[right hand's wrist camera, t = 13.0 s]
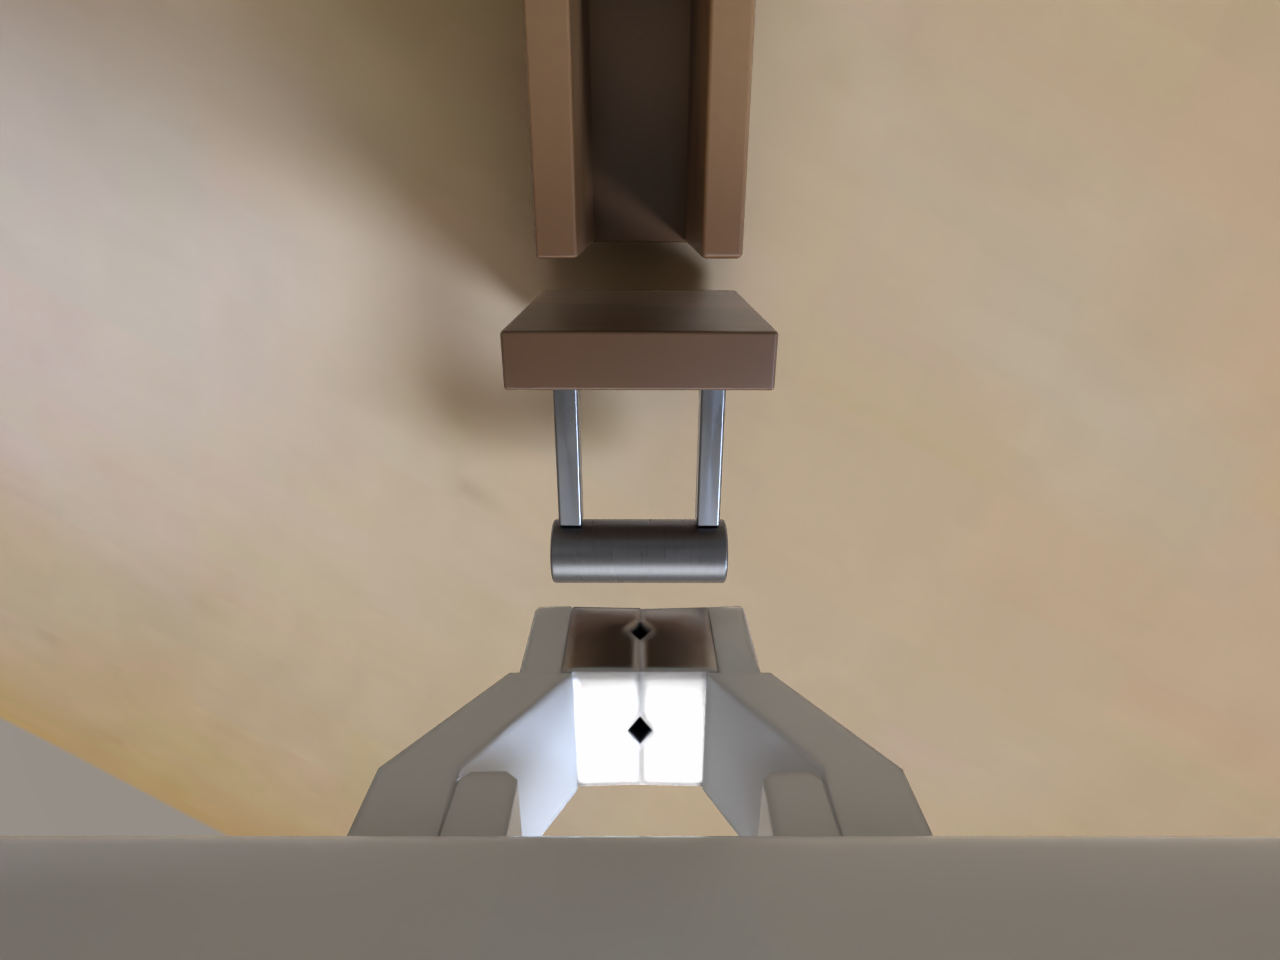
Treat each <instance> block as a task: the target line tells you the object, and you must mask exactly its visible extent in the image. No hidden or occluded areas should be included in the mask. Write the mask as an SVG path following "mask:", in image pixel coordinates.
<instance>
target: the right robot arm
mask: <svg viewBox="0 0 1280 960" xmlns="http://www.w3.org/2000/svg"><path fill="white" fill-rule="evenodd" d="M637 784H640V785H677V786H703V790H704V792H705V793H706V794H707V795H708V797H709V798H710V799H711V801H712V802H713V803H714V804H715V806H716V807H717V808H718V810H719V811H720V812H721V813H722V815H723V816H724V817H725V819H726V820H727V821H728V822H729V824H730V825H731V826H732V828H733V829H734V830H735V831H736V833H737V834H738V835H739V836H542V834H543V833H544V832H545V831H546V829H547V828H548V827H549V826H550V824H551V823H552V822H553V820H554V819H555V818H556V817H557V815H558V814H559V813H560V811H561V810H562V809H563V808H564V806H565V805H566V804H567V802H568V801H569V800H570V799H571V797H572V796H573V795H574V794H575V792H576V791H577V786H602V785H637ZM0 960H1280V836H933V835H932V833H931V831H930V828H929V826H928V824H927V822H926V820H925V818H924V815H923V813H922V811H921V809H920V807H919V804H918V802H917V800H916V798H915V796H914V794H913V791H912V789H911V787H910V785H909V783H908V781H907V778H906V776H905V774H904V772H903V770H902V769H901V768H900V767H898V766H897V765H896V764H894V763H893V762H891V761H890V760H889V759H887V758H886V757H885V756H883V755H882V754H881V753H879V752H878V751H876V750H875V749H874V748H872V747H871V746H870V745H868V744H867V743H865V742H864V741H863V740H861V739H860V738H859V737H857V736H856V735H855V734H853V733H852V732H850V731H849V730H848V729H846V728H845V727H844V726H842V725H841V724H840V723H838V722H837V721H835V720H834V719H833V718H831V717H830V716H829V715H827V714H826V713H825V712H823V711H822V710H820V709H819V708H818V707H816V706H815V705H814V704H812V703H811V702H809V701H808V700H807V699H805V698H804V697H803V696H801V695H800V694H799V693H797V692H796V691H794V690H793V689H792V688H790V687H789V686H788V685H786V684H785V683H784V682H782V681H781V680H779V679H778V678H777V677H775V676H774V675H773V674H771V673H760V669H759V665H758V661H757V658H756V654H755V650H754V646H753V642H752V638H751V635H750V631H749V627H748V623H747V619H746V615H745V611H744V609H743V608H742V607H741V606H733V607H708V608H667V609H640V608H601V607H573V608H572V607H571V606H570V607H539V608H538V609H537V610H536V611H535V615H534V618H533V622H532V626H531V630H530V634H529V638H528V642H527V646H526V650H525V653H524V657H523V661H522V665H521V669H520V673H509V674H507V675H506V676H505V677H503V678H502V679H501V680H499V681H498V682H496V683H495V684H494V685H492V686H491V687H490V688H488V689H487V690H485V691H484V692H483V693H481V694H480V695H479V696H477V697H476V698H475V699H473V700H472V701H470V702H469V703H468V704H466V705H465V706H464V707H462V708H461V709H459V710H458V711H457V712H455V713H454V714H453V715H451V716H450V717H448V718H447V719H446V720H444V721H443V722H442V723H440V724H439V725H437V726H436V727H435V728H433V729H432V730H431V731H429V732H428V733H426V734H425V735H424V736H422V737H421V738H420V739H418V740H417V741H415V742H414V743H413V744H411V745H410V746H409V747H407V748H406V749H405V750H403V751H402V752H400V753H399V754H398V755H396V756H395V757H394V758H392V759H391V760H389V761H388V762H387V763H385V764H384V765H383V766H381V767H380V768H378V771H377V773H376V775H375V777H374V779H373V781H372V783H371V786H370V788H369V790H368V792H367V794H366V796H365V798H364V801H363V803H362V805H361V807H360V809H359V811H358V813H357V816H356V818H355V820H354V822H353V824H352V826H351V828H350V831H349V833H348V835H347V836H0Z"/></svg>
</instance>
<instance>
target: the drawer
mask: <svg viewBox="0 0 1280 960" xmlns="http://www.w3.org/2000/svg"><path fill="white" fill-rule="evenodd" d="M755 3H756V0H523V9H524V29H525V48H526V68H527V87H528V107H529V126H530V146H531V165H532V185H533V205H534V224H535V244H536V256H537V257H538V258H576V257H577V256H578V255H579V254H581V253H582V252H583V251H584V250H585V249H586V248H587V247H588V246H589V245H590V244H591V243H593V242H687V243H688V244H689V245H691V246H692V247H693V248H694V249H695V250H696V251H697V252H698V253H699V254H700V255H701V256H702V257H704V258H739V257H741V255H742V250H743V231H744V212H745V193H746V174H747V155H748V136H749V117H750V98H751V79H752V60H753V41H754V22H755ZM500 337H501V351H502V365H503V379H504V387H505V389H507V390H553V400H554V422H555V444H556V466H557V488H558V509H559V519H556V520H554V523H553V526H552V532H551V547H550V562H551V574H552V579H553V581H554V582H556V583H723V582H725V580H726V577H727V568H728V538H727V529H726V524H725V522H724V520H720V500H721V479H722V458H723V437H724V415H725V394H726V390H772V389H773V388H774V383H775V370H776V356H777V342H778V333H777V331H776V330H775V329H774V328H773V327H772V326H770V325H769V324H768V323H767V322H766V321H765V320H764V319H763V318H762V317H761V316H760V315H759V314H758V313H757V312H756V311H755V310H754V309H753V308H752V307H751V306H750V305H749V304H748V303H747V302H746V301H745V300H744V299H743V298H742V297H741V296H740V295H739V294H738V293H737V292H736V291H729V290H545V291H543V292H542V293H541V294H540V295H539V296H538V297H537V298H536V299H535V300H534V301H533V302H532V303H531V304H530V305H529V306H528V307H527V308H525V309H524V310H523V311H522V312H521V313H520V314H519V315H518V316H517V317H516V318H515V319H514V320H513V321H512V322H511V323H510V324H509V325H508V326H507V327H506V328H505V329H503V330H502V331H501V334H500ZM579 390H699V418H698V448H697V478H696V508H695V518H696V520H677V519H583V489H582V457H581V425H580V394H579Z"/></svg>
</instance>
